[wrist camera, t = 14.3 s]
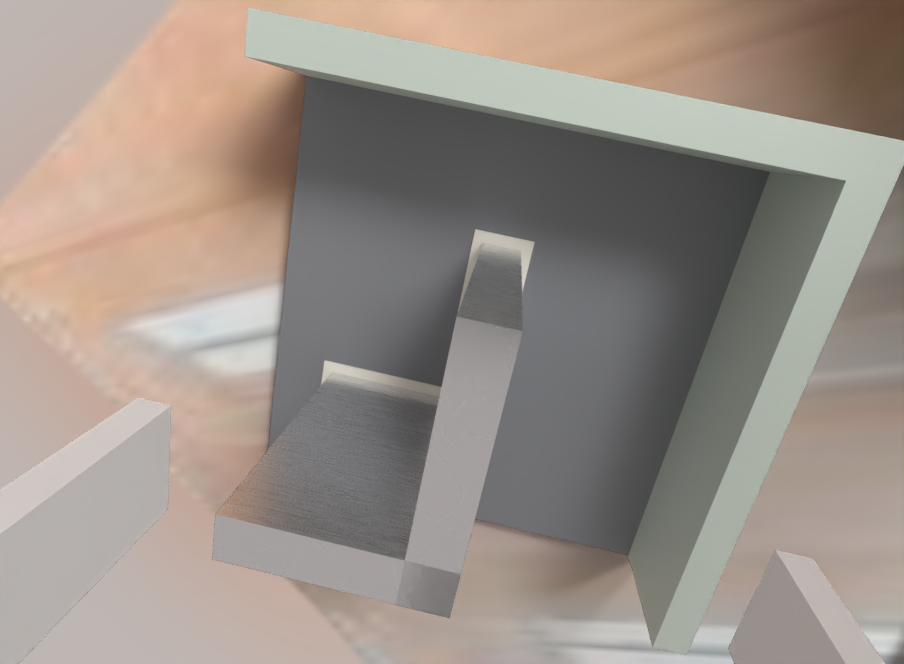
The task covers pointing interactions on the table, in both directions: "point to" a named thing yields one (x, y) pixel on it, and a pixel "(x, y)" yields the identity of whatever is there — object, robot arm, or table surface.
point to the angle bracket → (386, 467)
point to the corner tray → (575, 280)
